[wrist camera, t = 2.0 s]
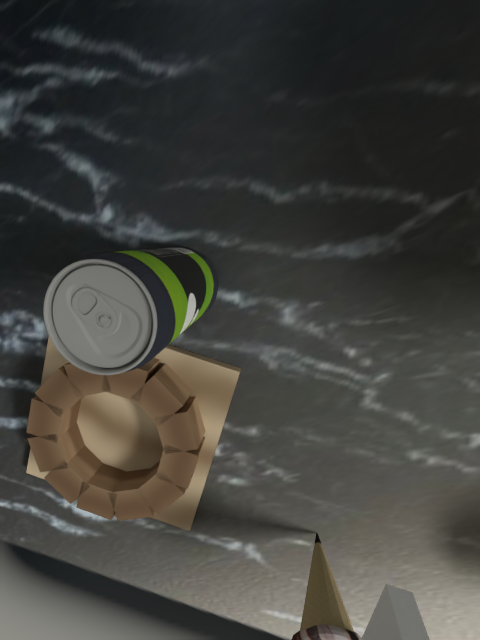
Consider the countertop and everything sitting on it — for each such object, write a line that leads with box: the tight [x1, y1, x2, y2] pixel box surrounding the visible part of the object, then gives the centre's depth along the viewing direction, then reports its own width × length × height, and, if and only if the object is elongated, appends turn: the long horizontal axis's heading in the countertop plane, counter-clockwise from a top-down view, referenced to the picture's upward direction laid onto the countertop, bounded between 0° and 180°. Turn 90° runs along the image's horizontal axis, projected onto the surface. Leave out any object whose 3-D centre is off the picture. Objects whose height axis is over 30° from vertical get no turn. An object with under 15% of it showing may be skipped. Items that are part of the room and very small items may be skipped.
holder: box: [26, 337, 241, 531], centre depth 33 cm, size 18×18×4 cm
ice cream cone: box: [292, 533, 362, 640], centre depth 28 cm, size 6×6×15 cm
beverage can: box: [43, 247, 218, 375], centre depth 24 cm, size 6×6×15 cm
